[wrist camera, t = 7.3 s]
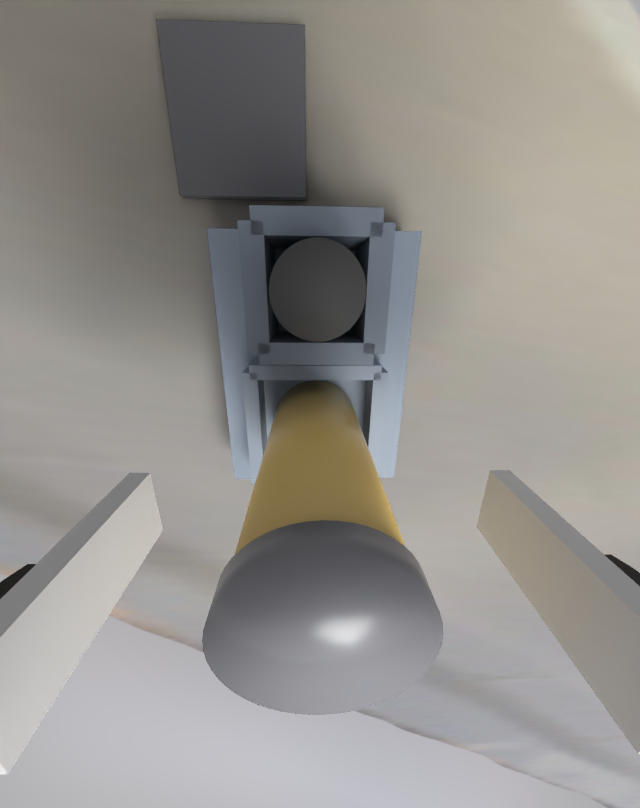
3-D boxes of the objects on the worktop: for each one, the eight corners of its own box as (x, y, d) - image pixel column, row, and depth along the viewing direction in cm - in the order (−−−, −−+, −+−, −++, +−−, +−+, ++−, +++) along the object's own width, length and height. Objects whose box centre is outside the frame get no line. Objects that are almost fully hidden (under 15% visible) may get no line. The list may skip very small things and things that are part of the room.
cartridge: (270, 377, 18) (184, 560, 6) (359, 377, 18) (463, 554, 6) (274, 455, 20) (217, 718, 8) (355, 455, 20) (426, 711, 8)
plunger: (279, 254, 15) (266, 236, 10) (351, 254, 15) (369, 237, 10) (282, 327, 16) (271, 341, 12) (348, 327, 16) (363, 341, 12)
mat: (161, 29, 15) (156, 19, 14) (304, 34, 15) (304, 24, 14) (183, 198, 17) (179, 195, 16) (306, 200, 17) (305, 197, 17)
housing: (222, 236, 18) (171, 203, 11) (404, 238, 18) (458, 208, 12) (243, 456, 23) (217, 521, 17) (383, 455, 23) (412, 518, 17)
